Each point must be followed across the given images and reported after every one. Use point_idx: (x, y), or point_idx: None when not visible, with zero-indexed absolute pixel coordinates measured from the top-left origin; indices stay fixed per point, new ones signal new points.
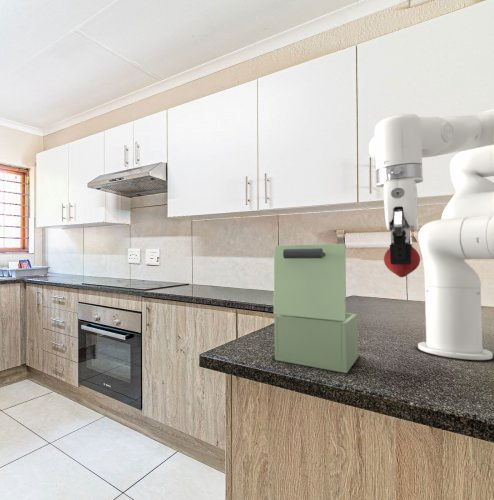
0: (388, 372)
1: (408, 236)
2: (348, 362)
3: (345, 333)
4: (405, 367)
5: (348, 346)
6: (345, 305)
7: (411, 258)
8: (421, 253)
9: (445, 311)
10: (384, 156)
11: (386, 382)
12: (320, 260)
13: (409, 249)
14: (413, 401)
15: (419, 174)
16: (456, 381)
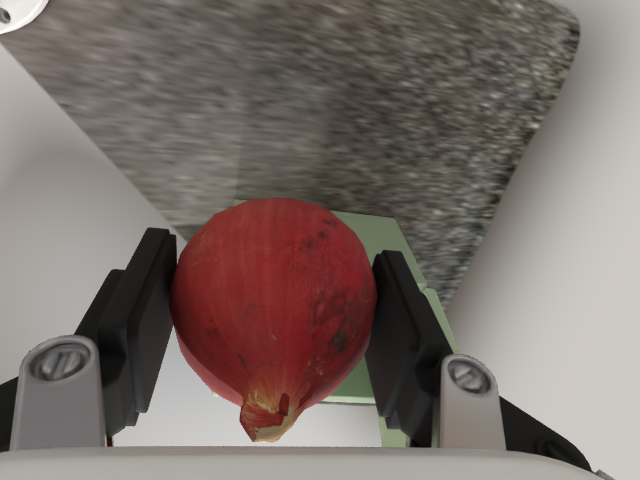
0: (344, 145)
1: (471, 412)
2: (378, 224)
3: (419, 268)
4: (274, 104)
5: (380, 243)
6: (442, 318)
7: (367, 262)
8: None
9: None
10: None
11: (425, 154)
12: None
13: (430, 317)
14: (525, 121)
15: None
16: (348, 5)
